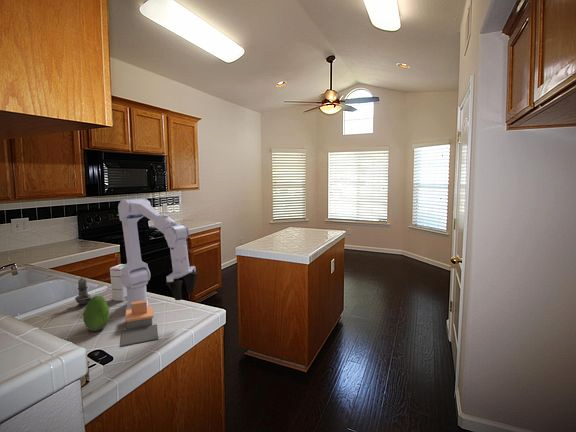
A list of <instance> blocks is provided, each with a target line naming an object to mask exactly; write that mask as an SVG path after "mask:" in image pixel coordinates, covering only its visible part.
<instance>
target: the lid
mask: <svg viewBox="0 0 576 432" xmlns="http://www.w3.org/2000/svg"><path fill="white" fill-rule="evenodd" d="M153 308H154V307H153V305H150V306H149V305H148V307H147V301H146V300H142V301H135V302H131V309H129V310H126V309H125V317H124V322H125V323H127V322H130V321H136V320H142V319H148V318H152V319H153V318H154V309H153Z"/></svg>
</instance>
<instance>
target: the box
mask: <svg viewBox="0 0 576 432" xmlns="http://www.w3.org/2000/svg"><path fill="white" fill-rule="evenodd" d="M148 325H153V318H148V319H142V320H136V321H130V322H126V329H131V328H137V327H142V326H148Z"/></svg>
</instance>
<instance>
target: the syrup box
mask: <svg viewBox="0 0 576 432" xmlns="http://www.w3.org/2000/svg"><path fill="white" fill-rule="evenodd" d="M126 264H127V263H124V264H123V263H120V264H118V265H115V266H112V267H110V268H109V272H110V273H109V275H110V282H111V283H110V286H111V296H112V301H116V302H117V301H118V302H125V301H127V289H126V287H124V286H123V285H122V283H121V269H122V268H123V267H124V266H125V265H126Z"/></svg>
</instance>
